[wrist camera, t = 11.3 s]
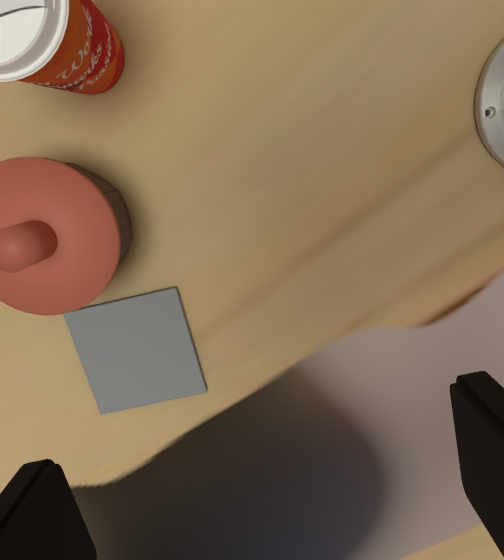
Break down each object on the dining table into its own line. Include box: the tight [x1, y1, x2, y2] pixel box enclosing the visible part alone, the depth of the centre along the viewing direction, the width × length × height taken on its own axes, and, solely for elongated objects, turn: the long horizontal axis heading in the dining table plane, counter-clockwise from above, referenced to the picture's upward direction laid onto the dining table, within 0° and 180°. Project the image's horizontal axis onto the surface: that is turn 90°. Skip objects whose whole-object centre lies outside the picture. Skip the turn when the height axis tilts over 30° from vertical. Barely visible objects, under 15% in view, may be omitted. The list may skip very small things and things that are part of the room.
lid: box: [0, 157, 121, 315], centre depth 31 cm, size 12×12×5 cm
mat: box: [63, 286, 207, 414], centre depth 42 cm, size 11×11×1 cm
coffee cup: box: [0, 0, 124, 94], centre depth 28 cm, size 8×8×15 cm
